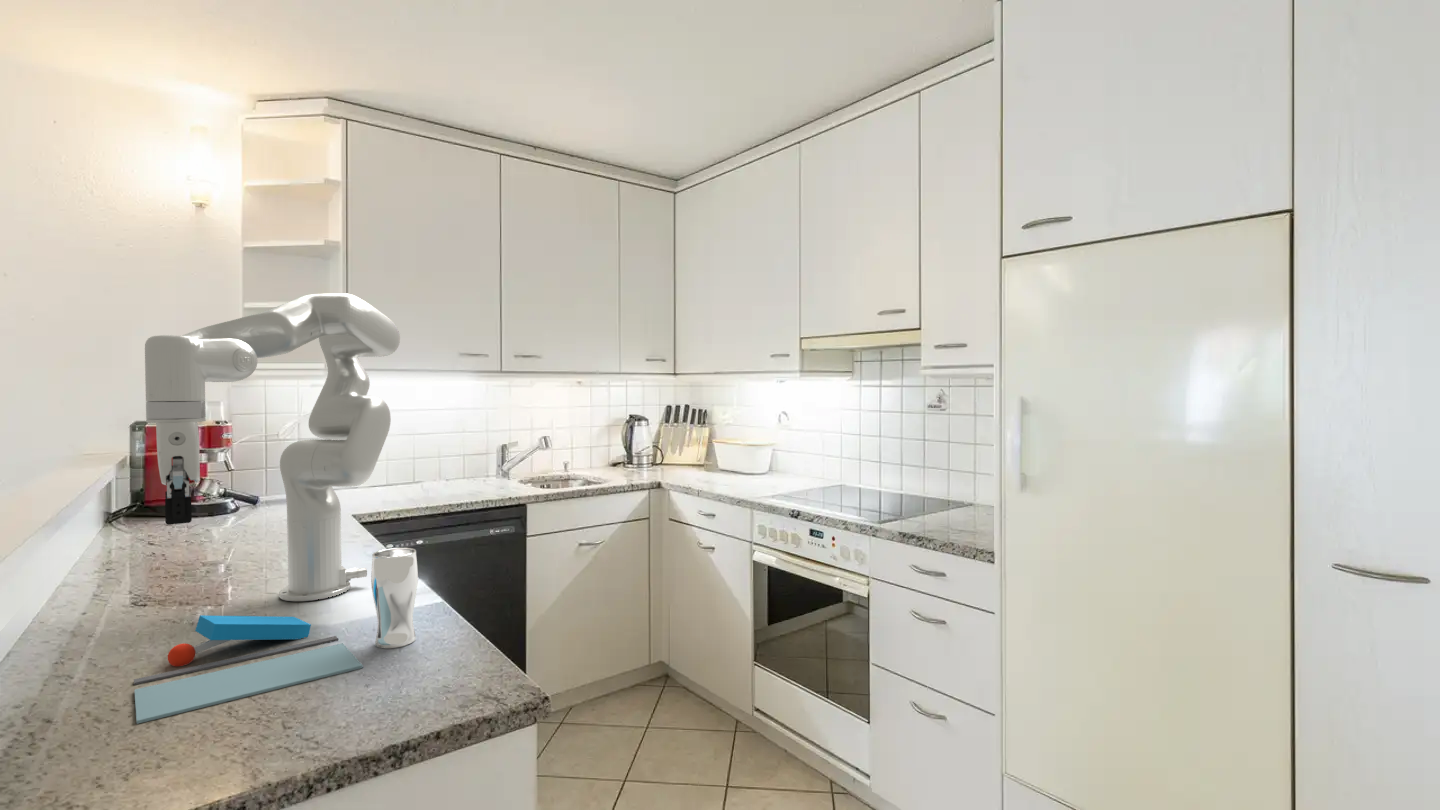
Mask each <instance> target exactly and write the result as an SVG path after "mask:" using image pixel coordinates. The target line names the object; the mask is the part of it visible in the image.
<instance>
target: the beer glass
mask: <svg viewBox="0 0 1440 810" xmlns="http://www.w3.org/2000/svg"><path fill="white" fill-rule="evenodd" d="M371 554H372V559H371V574H370V575H371V576H370V577H371V579H370V580H371V581H370V582H371V594H372V597H373V598H372V599H373V603H374V608H375V613H376V618H377V630H376V636H375V641H374V643H375V646H376V648H377V647H378V648H380V649H397V648H401V647H406V646H408V645H411V644H412V643H414V642H415V641H416V637H417V636H416V631H415V628H414V618H413V617H414V608H415V603H416V598H417V597H416V596H417V592H418V591H417V590H418V582H419V579H418V578H419V573H418V561H417V560H418V559H417V550H416V549H415V548H412V547H393V548H387V549H382V550H378V551H375V552H373V553H371Z"/></svg>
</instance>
